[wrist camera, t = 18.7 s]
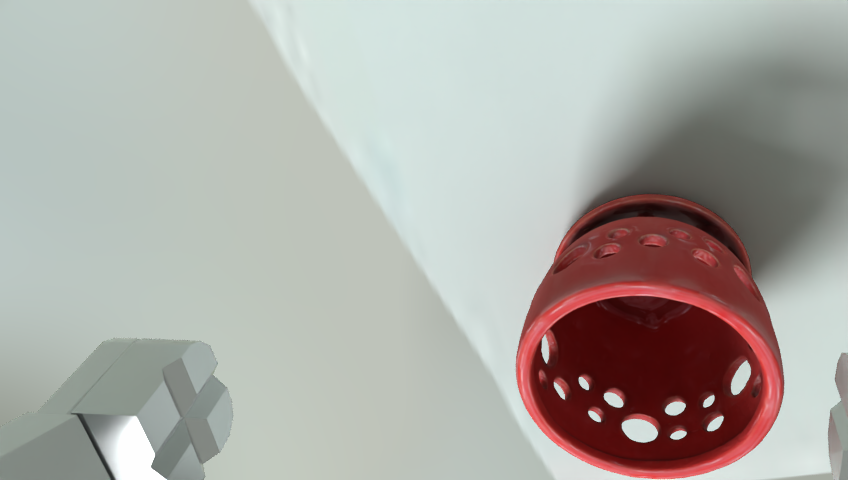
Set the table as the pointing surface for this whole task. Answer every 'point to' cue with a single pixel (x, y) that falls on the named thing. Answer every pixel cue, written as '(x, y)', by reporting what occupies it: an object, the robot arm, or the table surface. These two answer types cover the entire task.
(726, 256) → the plant pot
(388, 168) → the table surface
